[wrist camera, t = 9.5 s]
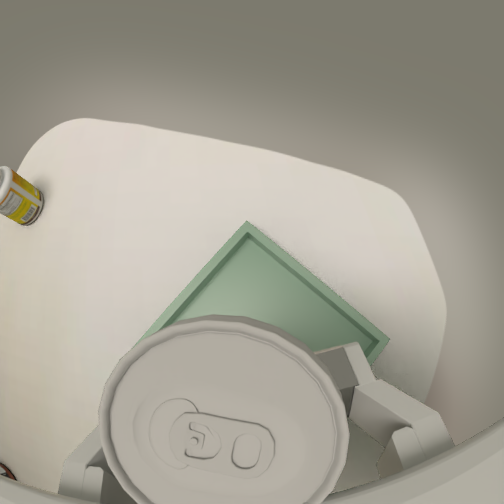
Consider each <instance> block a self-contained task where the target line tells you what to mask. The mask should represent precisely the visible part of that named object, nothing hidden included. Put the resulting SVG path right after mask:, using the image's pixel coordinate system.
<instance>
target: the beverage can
mask: <svg viewBox="0 0 504 504" xmlns="http://www.w3.org/2000/svg"><path fill="white" fill-rule="evenodd" d="M98 413H99V436H100V441H101V445H102V448H103V451H104V454H105V457H106V460H107V463H108V466H109V467H110V469H111V470H112V472H113V474H114V475H115V477H116V478H117V480H118V482H119V483H120V485H121V486H122V488H123V489H124V490H125V491H126V492H127V493H128V494H129V495H130V496H131V497H132V498H133V499H134V500H135V501H136V502H137V503H138V504H302V503H304V502H307V504H321V503H322V502H323V501H324V499H325V498H326V497H327V496H328V495H329V494H330V493H331V492H332V490H333V489H334V487H335V485H336V483H337V481H338V479H339V477H340V475H341V473H342V471H343V468H344V466H345V464H346V459H347V452H348V445H349V437H350V433H349V427H348V421H347V416H346V410H345V405H344V402H343V399H342V394H341V392H340V390H339V388H338V386H337V385H336V383H335V381H334V379H333V377H332V375H331V373H330V371H329V369H328V368H327V366H326V365H325V364H324V363H323V362H322V361H321V360H320V359H319V358H318V357H317V356H316V355H315V354H314V353H313V352H312V350H311V349H310V348H309V347H308V346H307V345H306V344H305V343H303V342H302V341H300V340H298V339H297V338H295V337H294V336H292V335H290V334H289V333H287V332H285V331H284V330H282V329H281V328H279V327H277V326H275V325H271V324H268V323H265V322H262V321H259V320H256V319H252V318H249V317H246V316H232V315H216V314H211V315H206V316H201V317H195V318H190V319H184V320H180V321H178V322H175V323H173V324H171V325H169V326H167V327H165V328H163V329H161V330H159V331H157V332H155V333H153V334H151V335H150V336H148V337H146V338H144V339H142V340H141V341H140V342H139V343H138V344H137V345H136V346H134V347H133V348H132V349H131V350H130V351H129V352H128V353H126V354H125V355H124V356H123V357H122V358H121V359H120V360H119V362H118V363H117V365H116V367H115V368H114V370H113V372H112V373H111V375H110V377H109V378H108V380H107V382H106V383H105V387H104V391H103V394H102V398H101V402H100V406H99V410H98Z"/></svg>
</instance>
